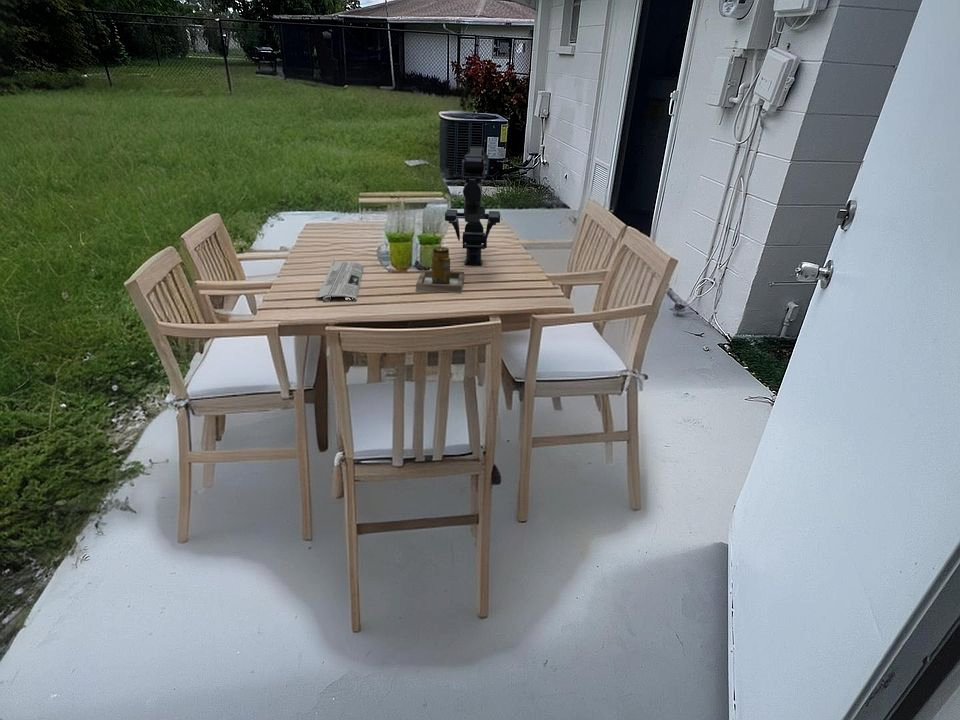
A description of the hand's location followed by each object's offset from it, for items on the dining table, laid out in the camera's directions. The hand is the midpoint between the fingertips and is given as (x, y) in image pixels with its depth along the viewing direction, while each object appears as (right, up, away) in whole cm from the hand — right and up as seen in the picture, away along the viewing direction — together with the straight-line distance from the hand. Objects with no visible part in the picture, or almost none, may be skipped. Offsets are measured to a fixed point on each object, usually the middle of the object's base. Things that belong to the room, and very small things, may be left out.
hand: (472, 240), depth 197 cm
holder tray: (-11, -16, -3) cm, 19 cm away
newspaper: (-44, -16, -3) cm, 47 cm away
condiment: (-10, -15, -3) cm, 19 cm away
